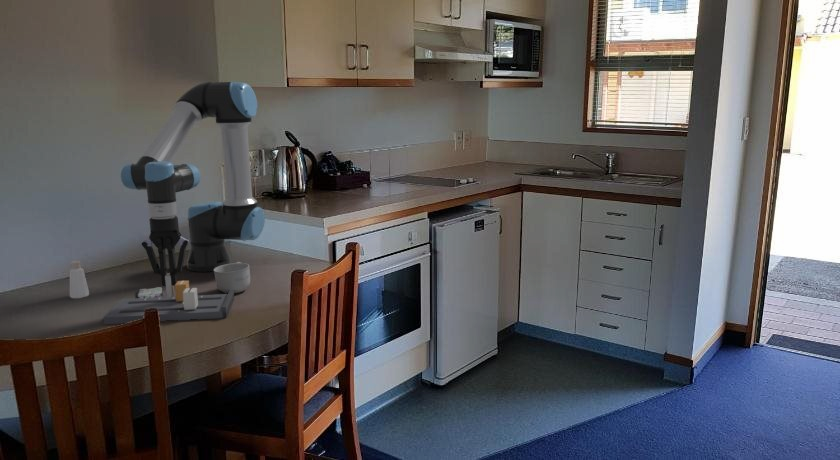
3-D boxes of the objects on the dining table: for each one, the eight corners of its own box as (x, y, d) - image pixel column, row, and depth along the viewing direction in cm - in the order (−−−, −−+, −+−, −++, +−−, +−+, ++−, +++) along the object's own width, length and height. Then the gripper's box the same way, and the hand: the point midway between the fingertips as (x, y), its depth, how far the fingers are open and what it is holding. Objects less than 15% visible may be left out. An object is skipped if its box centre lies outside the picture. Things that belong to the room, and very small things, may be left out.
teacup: (241, 297, 197) (239, 272, 195) (208, 295, 199) (206, 270, 197) (261, 284, 210) (259, 260, 209) (230, 282, 212) (228, 258, 211)
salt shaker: (65, 297, 197) (61, 262, 195) (80, 292, 202) (76, 258, 200) (78, 299, 196) (74, 264, 193) (93, 294, 200) (89, 260, 198)
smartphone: (135, 304, 189) (137, 289, 203) (136, 308, 190) (138, 292, 203) (162, 301, 192) (163, 286, 205) (163, 305, 192) (163, 289, 206)
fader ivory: (187, 305, 182) (185, 288, 181) (198, 304, 183) (196, 287, 182) (184, 309, 178) (182, 292, 177) (195, 309, 179) (194, 291, 178)
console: (122, 305, 190) (121, 295, 189) (234, 299, 194) (233, 289, 193) (104, 324, 174) (103, 313, 173) (226, 317, 179) (225, 306, 178)
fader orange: (179, 297, 190) (177, 280, 188) (190, 296, 190) (188, 280, 189) (176, 301, 186) (174, 284, 185) (187, 301, 186) (185, 284, 185)
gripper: (135, 219, 178) (143, 301, 183) (184, 218, 179) (191, 299, 184) (143, 214, 185) (150, 293, 190) (190, 213, 187) (196, 291, 192)
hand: (170, 296), depth 187 cm, fingers closed
